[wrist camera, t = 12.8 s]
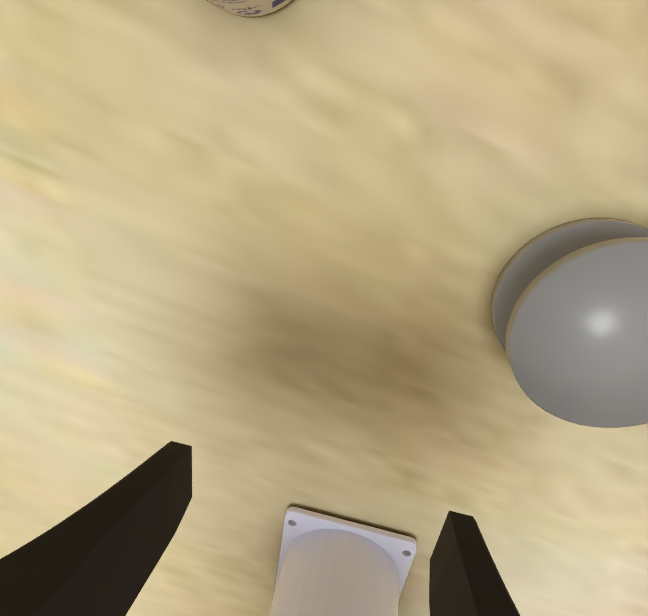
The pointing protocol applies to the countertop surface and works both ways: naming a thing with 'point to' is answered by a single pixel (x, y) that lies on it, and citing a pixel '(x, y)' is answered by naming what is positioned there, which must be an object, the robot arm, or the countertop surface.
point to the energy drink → (250, 6)
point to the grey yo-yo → (579, 321)
